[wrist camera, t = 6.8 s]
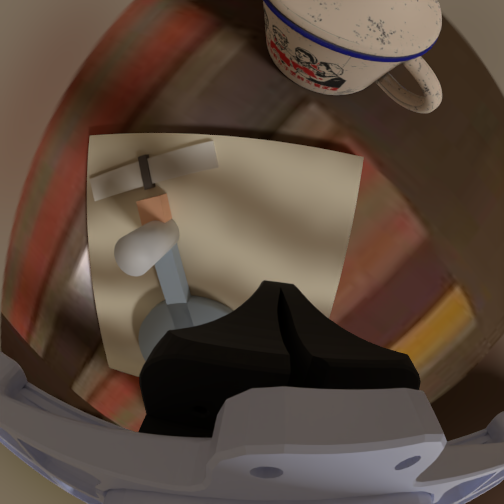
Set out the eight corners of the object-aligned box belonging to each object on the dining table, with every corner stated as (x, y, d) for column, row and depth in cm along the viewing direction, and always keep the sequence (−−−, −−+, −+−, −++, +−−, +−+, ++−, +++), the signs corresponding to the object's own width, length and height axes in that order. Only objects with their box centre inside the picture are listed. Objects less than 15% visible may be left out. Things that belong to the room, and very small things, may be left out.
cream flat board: (298, 396, 25) (299, 409, 23) (113, 360, 26) (106, 370, 24) (358, 157, 17) (366, 157, 16) (98, 135, 18) (85, 135, 16)
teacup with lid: (236, 40, 15) (197, -62, 4) (321, -15, 13) (348, -109, 2) (354, 155, 17) (453, 156, 6) (429, 90, 15) (533, 59, 4)
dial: (265, 384, 23) (262, 427, 18) (165, 386, 24) (149, 422, 19) (224, 181, 17) (205, 189, 13) (100, 210, 19) (59, 226, 14)
